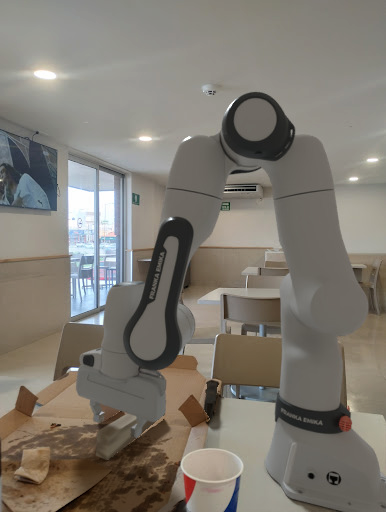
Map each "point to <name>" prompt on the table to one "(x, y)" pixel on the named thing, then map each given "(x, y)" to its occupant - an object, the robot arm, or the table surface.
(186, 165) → the robot arm
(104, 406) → the tile
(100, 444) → the gray bar
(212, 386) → the hand tool
